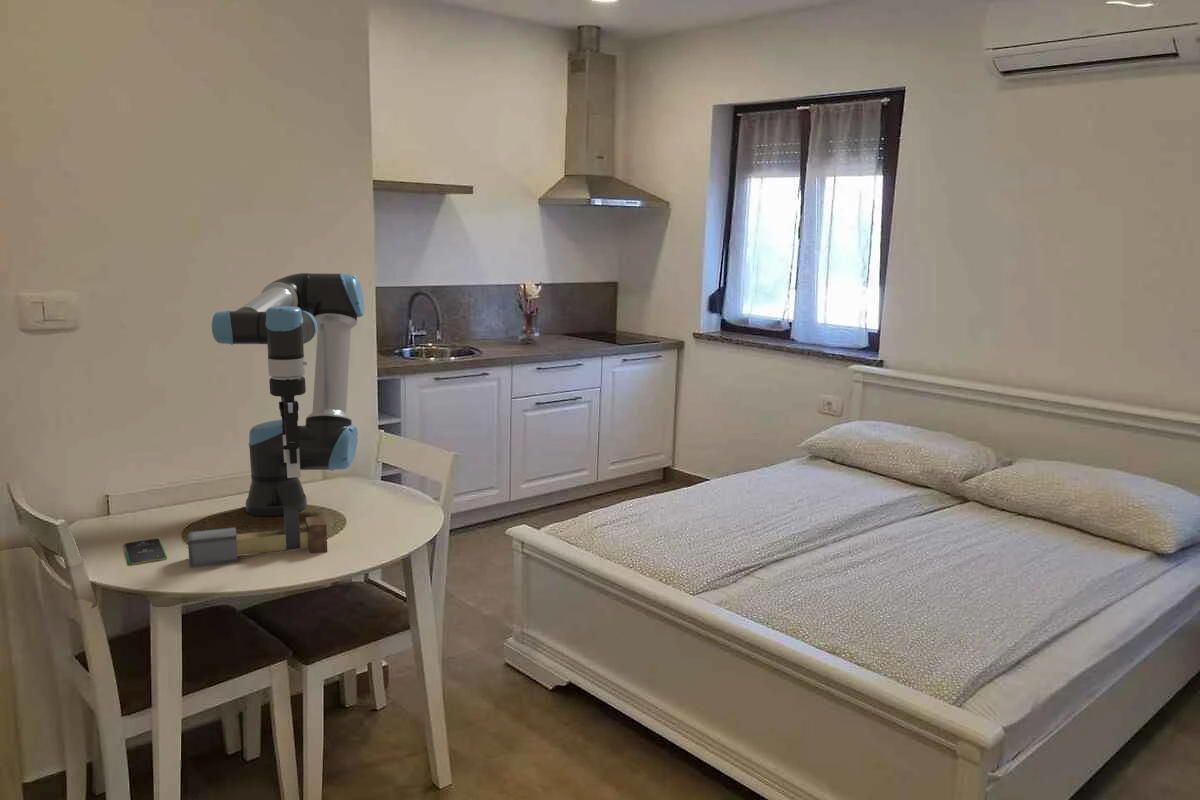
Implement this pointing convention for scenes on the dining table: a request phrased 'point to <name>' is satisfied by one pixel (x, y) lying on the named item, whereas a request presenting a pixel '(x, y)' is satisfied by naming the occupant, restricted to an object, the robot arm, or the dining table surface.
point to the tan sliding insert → (275, 536)
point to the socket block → (317, 534)
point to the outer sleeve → (212, 547)
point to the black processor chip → (144, 551)
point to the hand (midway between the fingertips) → (292, 469)
